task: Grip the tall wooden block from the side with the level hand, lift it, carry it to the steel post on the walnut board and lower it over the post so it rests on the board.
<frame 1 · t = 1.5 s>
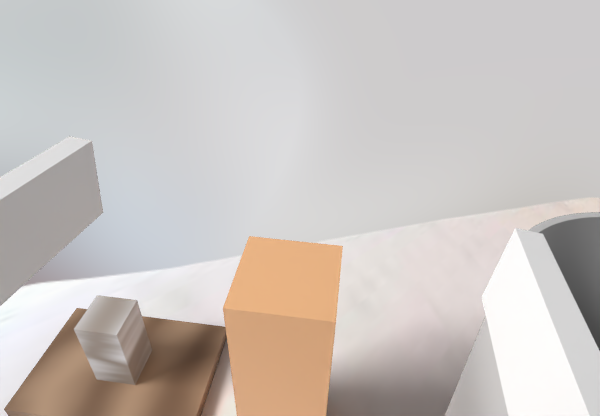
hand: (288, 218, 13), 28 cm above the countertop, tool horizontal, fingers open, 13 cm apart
post board: (128, 372, 40), on the countertop
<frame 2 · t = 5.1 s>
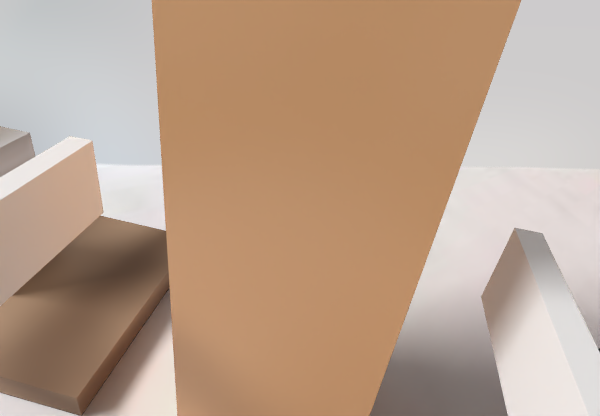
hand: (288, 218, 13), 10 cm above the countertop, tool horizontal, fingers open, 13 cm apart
post board: (8, 281, 23), on the countertop
tall wooden block: (277, 405, 19), on the countertop
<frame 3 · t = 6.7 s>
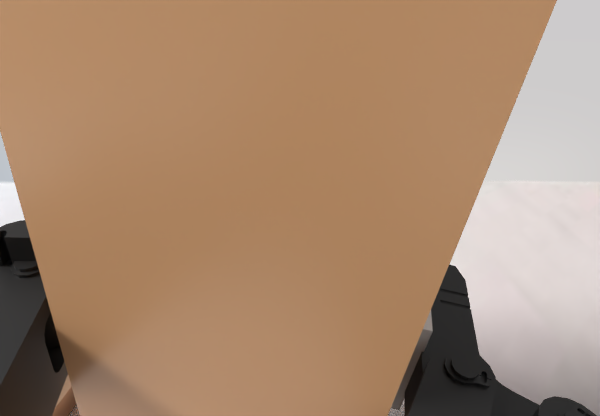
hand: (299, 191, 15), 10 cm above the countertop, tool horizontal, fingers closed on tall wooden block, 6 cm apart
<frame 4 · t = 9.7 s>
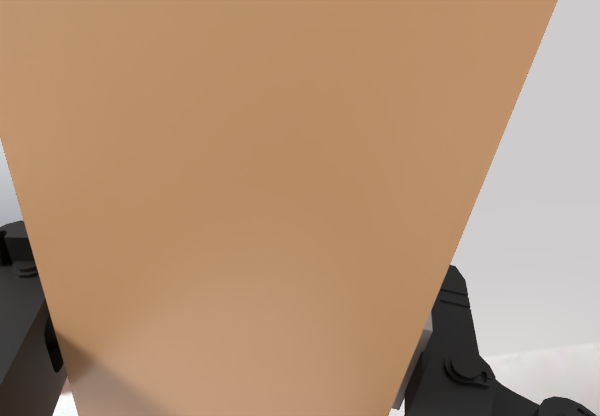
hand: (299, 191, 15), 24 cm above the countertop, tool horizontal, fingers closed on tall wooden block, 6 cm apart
when the fingers open (13 cm above the countertop, at t = 12.8 s): tall wooden block drops 2 cm, resting on post board.
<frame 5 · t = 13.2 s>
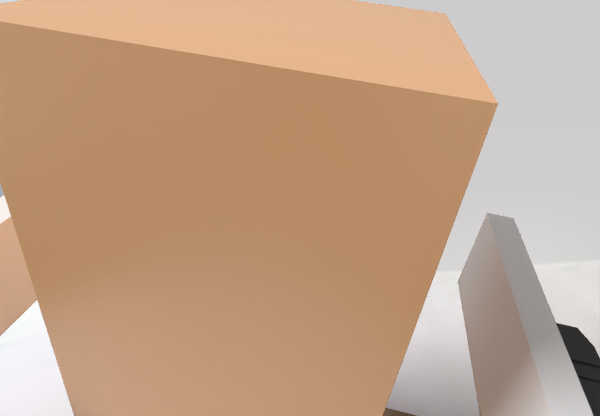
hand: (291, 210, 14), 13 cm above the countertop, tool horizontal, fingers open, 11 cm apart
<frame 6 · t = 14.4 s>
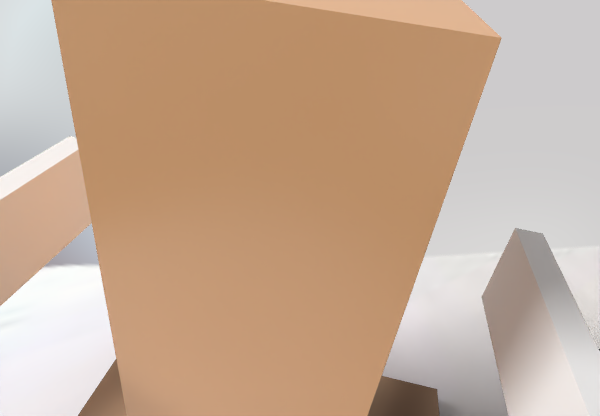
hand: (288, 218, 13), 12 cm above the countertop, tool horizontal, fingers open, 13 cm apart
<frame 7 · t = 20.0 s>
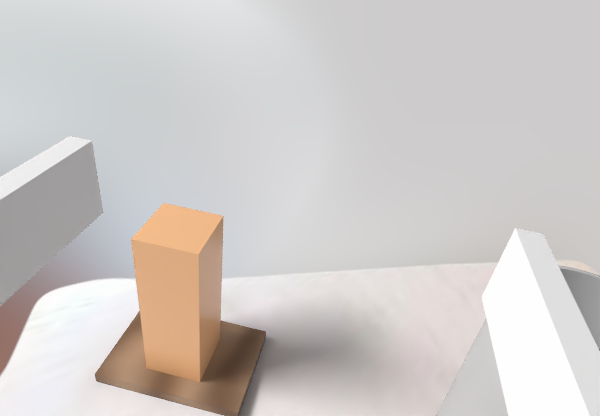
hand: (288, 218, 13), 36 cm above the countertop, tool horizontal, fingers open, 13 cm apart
post board: (187, 358, 50), on the countertop
tall wooden block: (184, 352, 50), point 1 cm above the countertop, touching post board
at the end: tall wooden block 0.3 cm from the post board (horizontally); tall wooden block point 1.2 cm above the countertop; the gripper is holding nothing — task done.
